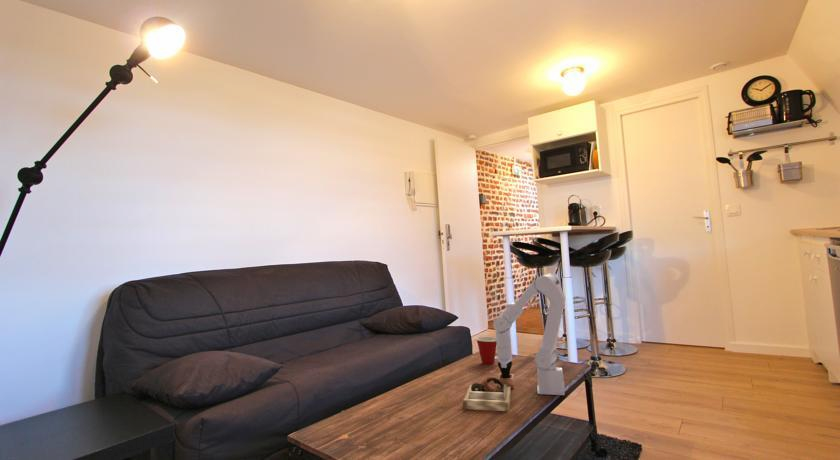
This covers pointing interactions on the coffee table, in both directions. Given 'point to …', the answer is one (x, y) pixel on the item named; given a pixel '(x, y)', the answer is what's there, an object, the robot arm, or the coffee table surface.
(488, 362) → the plastic cup
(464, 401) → the frame
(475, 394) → the pull frame
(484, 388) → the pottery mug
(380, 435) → the coffee table surface
